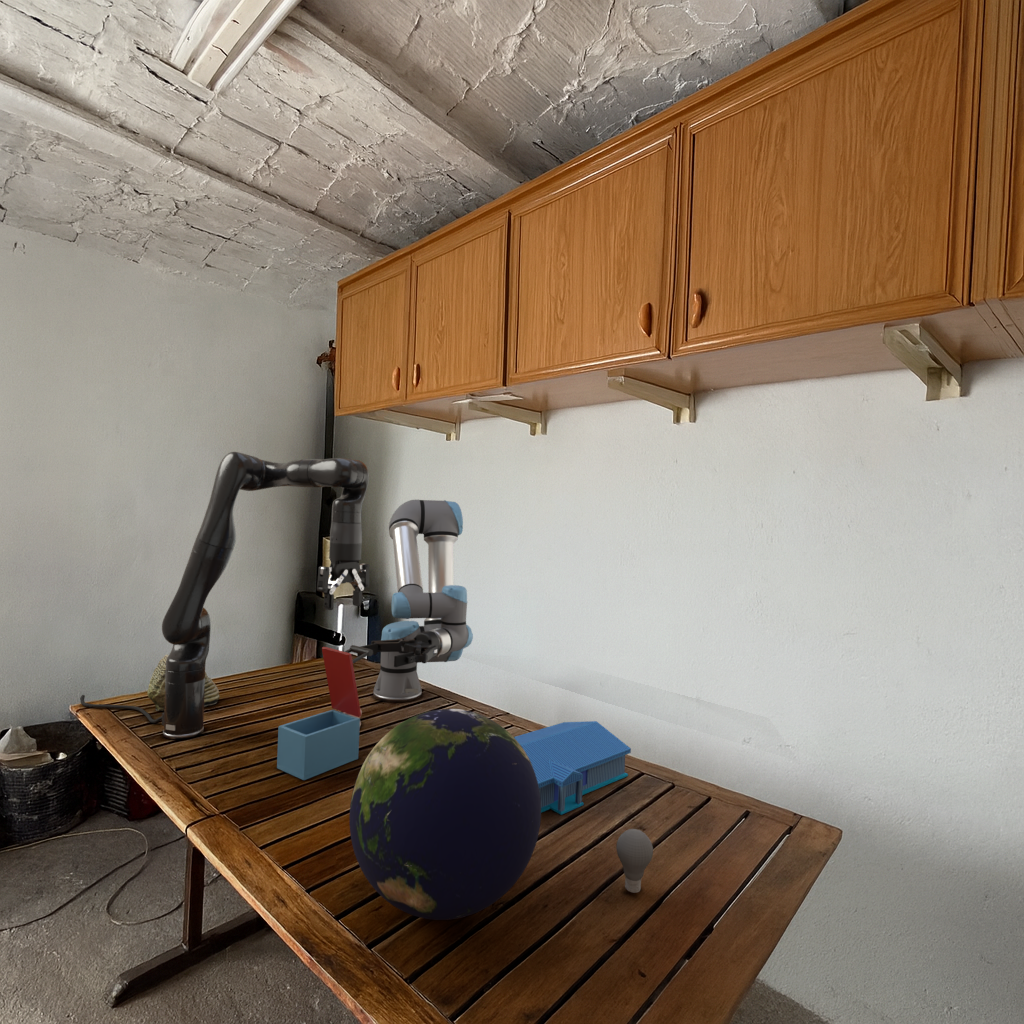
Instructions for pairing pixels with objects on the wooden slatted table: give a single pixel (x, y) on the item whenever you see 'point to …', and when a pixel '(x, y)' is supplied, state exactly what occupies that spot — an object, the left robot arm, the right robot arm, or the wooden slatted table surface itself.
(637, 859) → the light bulb
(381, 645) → the right robot arm
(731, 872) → the wooden slatted table surface
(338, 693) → the lid
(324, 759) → the chest
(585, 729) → the model building
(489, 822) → the globe
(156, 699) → the fossil
